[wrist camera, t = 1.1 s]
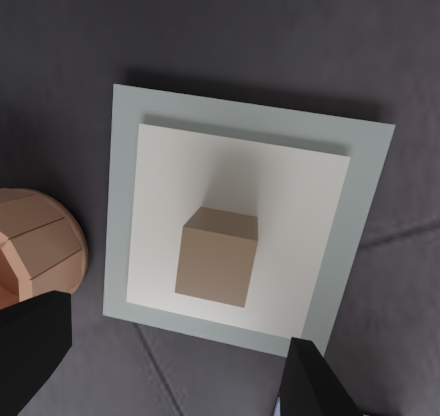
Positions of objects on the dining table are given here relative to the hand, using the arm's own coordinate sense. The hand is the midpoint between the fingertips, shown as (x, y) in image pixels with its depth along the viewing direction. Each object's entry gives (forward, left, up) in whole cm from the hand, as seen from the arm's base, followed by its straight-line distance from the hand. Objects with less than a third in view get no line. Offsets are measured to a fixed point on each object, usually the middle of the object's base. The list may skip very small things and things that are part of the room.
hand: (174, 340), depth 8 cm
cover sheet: (-1, 0, -9) cm, 9 cm away
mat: (-1, 0, -9) cm, 9 cm away
